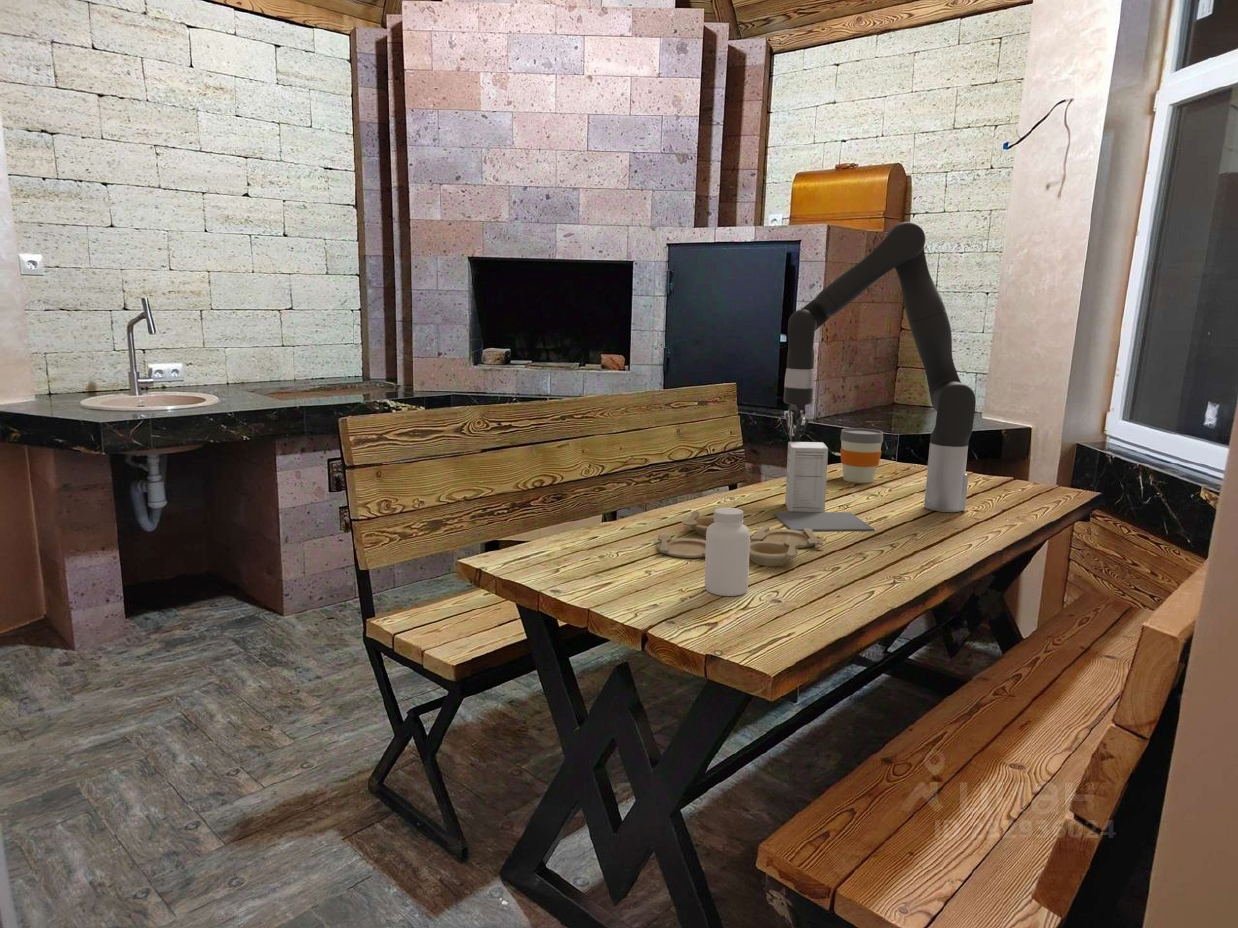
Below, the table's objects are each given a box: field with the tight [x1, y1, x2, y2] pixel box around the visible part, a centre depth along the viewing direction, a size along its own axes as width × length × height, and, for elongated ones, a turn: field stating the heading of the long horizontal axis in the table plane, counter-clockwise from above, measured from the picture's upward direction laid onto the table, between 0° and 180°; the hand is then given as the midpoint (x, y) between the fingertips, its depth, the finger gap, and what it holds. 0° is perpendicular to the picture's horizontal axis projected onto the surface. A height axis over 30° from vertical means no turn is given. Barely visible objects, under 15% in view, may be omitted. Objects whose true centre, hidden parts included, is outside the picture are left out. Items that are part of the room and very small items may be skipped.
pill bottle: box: [704, 507, 751, 597], centre depth 149 cm, size 8×8×15 cm
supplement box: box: [784, 441, 829, 512], centre depth 211 cm, size 10×9×17 cm
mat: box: [772, 511, 876, 532], centre depth 199 cm, size 20×16×1 cm
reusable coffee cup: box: [839, 427, 884, 484], centre depth 248 cm, size 13×13×15 cm
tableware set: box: [656, 510, 824, 567], centre depth 178 cm, size 35×29×4 cm
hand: (794, 449), depth 221 cm, fingers closed
